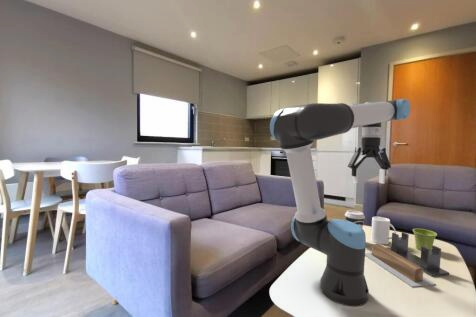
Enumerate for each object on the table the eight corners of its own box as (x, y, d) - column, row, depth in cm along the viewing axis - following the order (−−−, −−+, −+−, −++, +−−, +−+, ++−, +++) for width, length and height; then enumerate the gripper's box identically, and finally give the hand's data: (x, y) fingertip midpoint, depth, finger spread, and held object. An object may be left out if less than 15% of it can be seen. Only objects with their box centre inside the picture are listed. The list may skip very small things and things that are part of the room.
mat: (411, 287, 85) (411, 286, 85) (362, 253, 111) (362, 253, 111) (435, 285, 87) (435, 283, 87) (381, 252, 113) (381, 251, 113)
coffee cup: (364, 239, 128) (365, 211, 127) (362, 245, 120) (364, 216, 119) (345, 235, 133) (346, 209, 132) (342, 241, 125) (343, 213, 124)
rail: (414, 282, 88) (415, 269, 88) (371, 254, 110) (372, 244, 109) (422, 281, 88) (423, 268, 88) (378, 254, 110) (378, 243, 110)
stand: (431, 276, 93) (433, 252, 92) (384, 249, 116) (385, 230, 116) (449, 275, 94) (451, 251, 93) (398, 248, 118) (399, 229, 117)
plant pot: (440, 254, 112) (441, 236, 112) (418, 252, 114) (419, 234, 113) (428, 246, 122) (429, 229, 121) (407, 244, 123) (408, 227, 123)
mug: (399, 245, 122) (400, 222, 121) (388, 248, 118) (389, 224, 117) (377, 237, 132) (378, 215, 132) (366, 239, 129) (368, 217, 128)
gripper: (351, 136, 103) (349, 184, 105) (401, 137, 107) (399, 184, 109) (341, 136, 111) (339, 182, 112) (388, 137, 115) (386, 181, 116)
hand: (368, 183), depth 110 cm, fingers open, 13 cm apart
